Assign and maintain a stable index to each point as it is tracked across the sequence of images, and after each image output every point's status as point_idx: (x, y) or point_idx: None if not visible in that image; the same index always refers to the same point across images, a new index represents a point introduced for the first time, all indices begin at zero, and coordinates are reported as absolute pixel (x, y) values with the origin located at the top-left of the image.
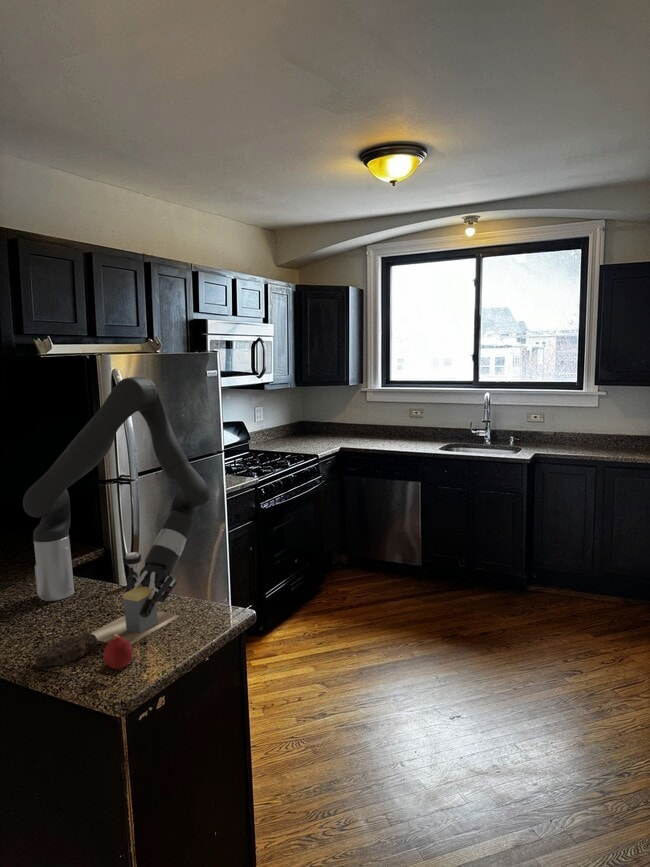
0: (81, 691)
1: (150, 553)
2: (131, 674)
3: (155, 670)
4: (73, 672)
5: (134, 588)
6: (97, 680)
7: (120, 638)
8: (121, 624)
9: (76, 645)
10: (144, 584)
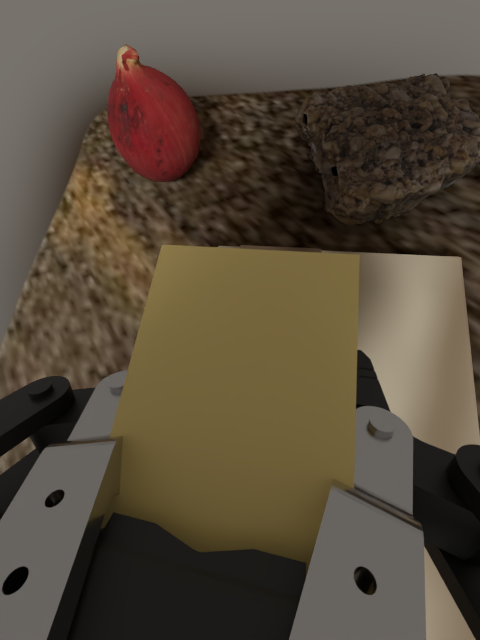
0: (207, 96)
1: None
2: (137, 174)
3: (88, 205)
4: (293, 133)
5: (392, 494)
6: (202, 132)
7: (116, 77)
8: (397, 409)
9: (325, 96)
10: (244, 573)
